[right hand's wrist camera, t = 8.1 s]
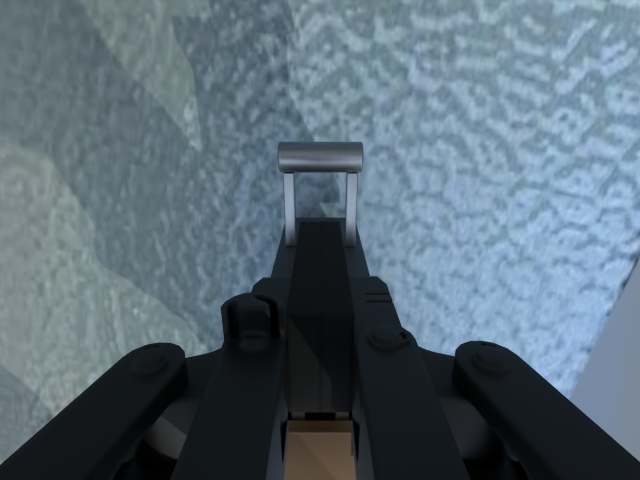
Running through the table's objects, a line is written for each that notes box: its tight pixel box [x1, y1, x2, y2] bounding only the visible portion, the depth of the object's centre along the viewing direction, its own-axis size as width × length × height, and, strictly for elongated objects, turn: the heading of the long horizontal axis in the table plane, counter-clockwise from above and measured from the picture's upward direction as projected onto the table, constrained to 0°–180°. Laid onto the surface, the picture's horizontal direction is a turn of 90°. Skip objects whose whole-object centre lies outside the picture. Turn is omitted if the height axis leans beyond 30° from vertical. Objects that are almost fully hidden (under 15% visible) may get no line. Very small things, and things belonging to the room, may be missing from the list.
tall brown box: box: [284, 405, 356, 480], centre depth 29 cm, size 16×6×11 cm, turn 0°
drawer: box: [271, 142, 370, 421], centre depth 24 cm, size 21×5×10 cm, turn 0°
